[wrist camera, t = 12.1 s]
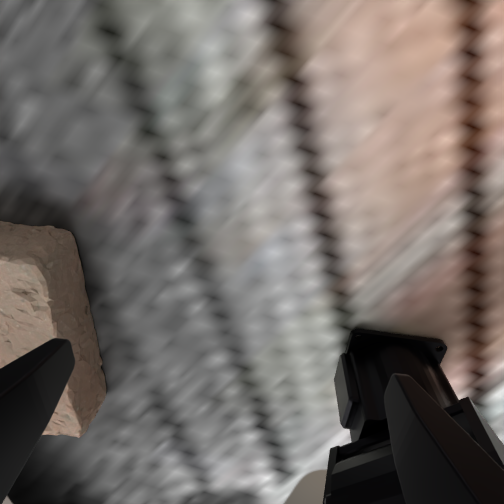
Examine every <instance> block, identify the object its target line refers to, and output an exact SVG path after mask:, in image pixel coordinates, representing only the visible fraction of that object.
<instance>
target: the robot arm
mask: <svg viewBox="0 0 504 504" xmlns="http://www.w3.org/2000/svg"><path fill="white" fill-rule="evenodd" d="M357 335H361V336H360V337H355V336H357ZM438 346H440V347H438ZM436 347H438V348H436ZM446 350H447V346H446V344H445V343H444V341H442V340H440V339H433V338H426V337H418V336H411V335H403V334H395V333H388V332H380V331H373V330H365V329H354V330H353V331H351V333H350V337H349V340H348V344H347V348H346V351H345V353H343V354H342V355H340V359H339V362H338V366H337V370H336V374H335V378H334V382H335V390H336V396H337V402H338V409H339V416H340V423H341V425H342V426H343V428H345V429H350V435H351V441H352V442H351V443H349V444H346V445H343V446H341V447H340V446H336V447H333V448H330V454H329V461H328V469H327V476H326V484H325V491H324V498H323V504H504V445H503V443H502V442H501V441H500V439H499V438H498V437H497V435H496V434H495V432H494V431H493V430H492V428H491V427H490V426H489V424H488V423H487V421H486V420H485V419H484V417H483V416H482V415H481V413H480V412H479V411H478V409H477V408H476V406H475V405H474V404H473V402H472V401H471V400H470V398H469V397H466V398H463V399H461V400H458V398H457V396H456V394H455V392H454V390H453V389H452V387H451V385H450V383H449V381H448V379H447V377H446V376H445V374H444V372H443V370H442V368H441V366H440V364H441V362H442V359H443V357H444V355H445V353H446ZM74 366H75V357H74V353H73V349H72V345H71V342H70V341H69V340H68V339H62V338H53V339H51V340H49V341H47V342H45V343H44V344H42V345H40V346H38V347H37V348H35V349H33V350H31V351H30V352H28V353H26V354H24V355H23V356H21V357H19V358H17V359H16V360H14V361H12V362H10V363H9V364H7V365H5V366H3V367H2V368H0V504H2V503H3V500H4V499H5V497H6V496H7V494H8V492H9V491H10V489H11V487H12V485H13V484H14V482H15V480H16V479H17V477H18V475H19V473H20V472H21V470H22V468H23V466H24V465H25V463H26V461H27V460H28V458H29V456H30V454H31V453H32V451H33V449H34V448H35V446H36V444H37V442H38V441H39V439H40V437H41V435H42V434H43V432H44V430H45V429H46V427H47V425H48V423H49V421H50V419H51V417H52V415H53V413H54V411H55V409H56V407H57V404H58V402H59V400H60V398H61V396H62V394H63V391H64V389H65V387H66V385H67V383H68V380H69V378H70V376H71V374H72V372H73V369H74Z"/></svg>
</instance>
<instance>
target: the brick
mask: <svg viewBox="0 0 504 504" xmlns="http://www.w3.org/2000/svg"><path fill="white" fill-rule="evenodd" d="M53 338H62V339H68V340H69V341H70V342H71V345H72V349H73V353H74V357H75V366H74V369H73V372H72V374H71V376H70V378H69V380H68V383H67V385H66V387H65V389H64V391H63V394H62V396H61V398H60V400H59V402H58V404H57V407H56V409H55V411H54V413H53V415H52V417H51V419H50V421H49V423H48V425H47V427H46V429H45V430H44V432H43V434H42V435H45V434H49V435H59V434H64V435H69V436H77V437H78V438H80V437H81V436H82V435H83V434H84V433H85V432H86V431H87V429H88V426H89V424H90V423H91V422H92V420H93V419H94V418H95V416H96V413H97V412H98V410H99V408H100V407H101V405H102V403H103V401H104V399H105V396H106V384H105V375H104V373H103V371H102V369H101V368H100V367H101V365H102V359H101V357H100V356H99V346H98V341H97V335H96V331H95V329H94V323H93V319H92V315H91V312H90V306H89V300H88V296H87V293H86V290H85V280H84V275H83V270H82V266H81V261H80V258H79V255H78V250H77V245H76V242H75V238H74V236H73V235H72V233H71V232H70V231H67V230H64V229H57V228H55V227H54V226H48V225H47V226H40V227H38V226H32V227H31V226H26V225H22V224H19V225H18V224H12V223H11V222H3V221H0V368H2V367H3V366H5V365H7V364H9V363H10V362H12V361H14V360H16V359H17V358H19V357H21V356H23V355H24V354H26V353H28V352H30V351H31V350H33V349H35V348H37V347H38V346H40V345H42V344H44V343H45V342H47V341H49V340H51V339H53Z"/></svg>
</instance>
